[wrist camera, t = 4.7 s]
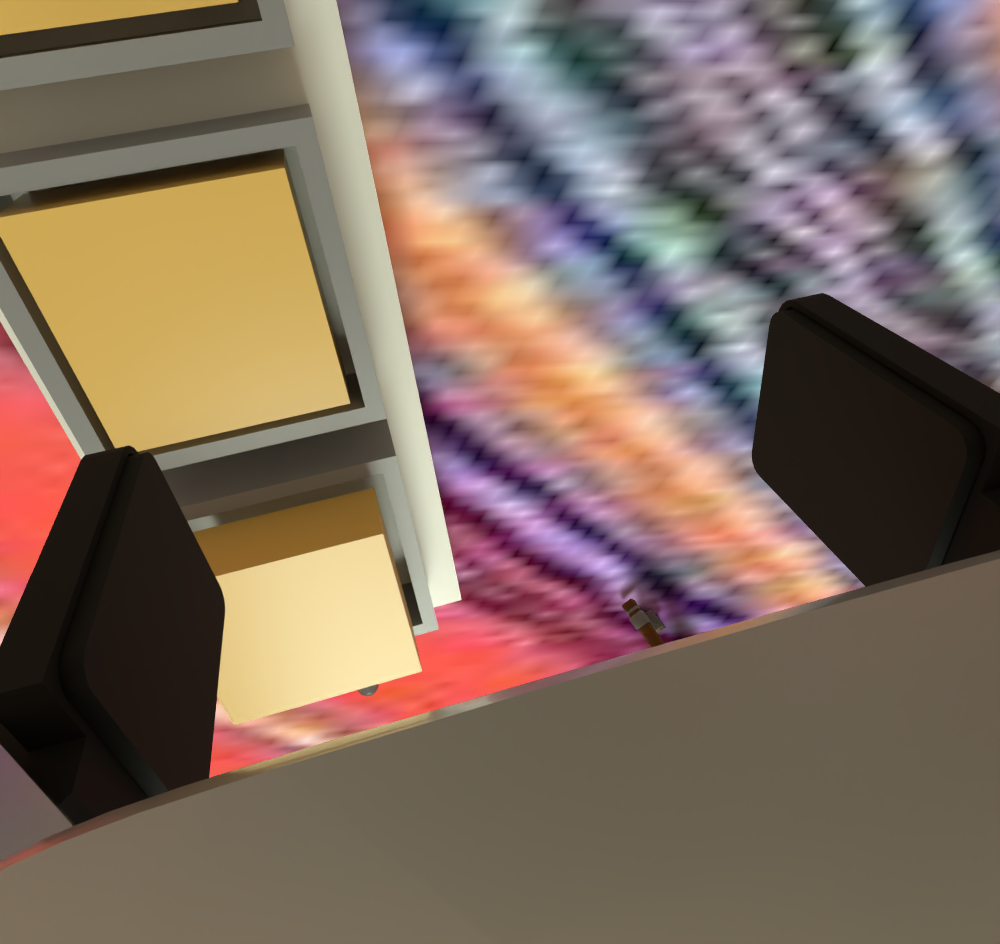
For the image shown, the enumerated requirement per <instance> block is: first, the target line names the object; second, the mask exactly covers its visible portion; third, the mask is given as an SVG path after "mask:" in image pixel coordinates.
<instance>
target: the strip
mask: <svg viewBox="0 0 1000 944" xmlns="http://www.w3.org/2000/svg"><path fill="white" fill-rule="evenodd" d="M278 150H284V152H285V155H286V159H287V163H288V166H289V170H290V173H291V177H292V181H293V184H294V188H295V191H296V195H297V199H298V202H299V206H300V210H301V213H302V217H303V220H304V224H305V228H306V231H307V235H308V239H309V242H310V246H311V249H312V253H313V257H314V260H315V264H316V267H317V271H318V275H319V278H320V282H321V286H322V289H323V293H324V296H325V300H326V304H327V307H328V311H329V315H330V318H331V322H332V325H333V329H334V333H335V336H336V340H337V343H338V347H339V351H340V354H341V358H342V362H343V365H344V369H345V375H346V381H347V387H348V392H349V398H350V404H346V405H342V406H337V407H333V408H328V409H324V410H320V411H315V412H311V413H306V414H302V415H298V416H293V417H289V418H284V419H280V420H275V421H271V422H267V423H262V424H258V425H253V426H249V427H245V428H240V429H236V430H231V431H227V432H222V433H218V434H214V435H209V436H205V437H200V438H196V439H192V440H187V441H183V442H178V443H174V444H170V445H165V446H161V447H156V448H152V449H147V450H143V451H139V452H138V453H139V454H141V453H146V452H149V453H151V454H152V455H153V456H154V458H155V460H156V461H157V463H158V465H159V467H160V469H161V471H162V473H163V475H164V477H165V479H166V481H167V483H168V485H169V487H170V489H171V491H172V493H173V495H174V496H175V498H176V500H177V502H178V504H179V506H180V508H181V510H182V512H183V514H184V516H185V518H186V520H187V522H188V524H189V526H190V528H191V530H192V532H195V531H199V530H203V529H207V528H211V527H215V526H219V525H223V524H227V523H231V522H235V521H240V520H244V519H248V518H252V517H256V516H260V515H264V514H268V513H272V512H276V511H280V510H284V509H288V508H293V507H297V506H301V505H305V504H309V503H313V502H317V501H321V500H325V499H329V498H333V497H337V496H341V495H346V494H350V493H354V492H358V491H362V490H366V489H370V488H374V489H375V492H376V496H377V499H378V503H379V506H380V510H381V514H382V517H383V521H384V524H385V528H386V531H387V535H388V539H389V542H390V546H391V549H392V553H393V556H394V560H395V564H396V567H397V571H398V574H399V578H400V582H401V585H402V589H403V592H404V596H405V599H406V603H407V607H408V610H409V614H410V617H411V621H412V625H413V630H414V635H415V636H416V635H420V634H424V633H427V632H431V631H434V630H438V629H439V628H438V624H437V620H436V616H435V611H434V607H437V606H441V605H444V604H448V603H452V602H455V601H459V600H461V595H460V590H459V585H458V581H457V576H456V571H455V566H454V561H453V557H452V552H451V547H450V542H449V538H448V533H447V528H446V523H445V518H444V514H443V509H442V504H441V499H440V494H439V490H438V485H437V480H436V475H435V471H434V466H433V461H432V456H431V451H430V447H429V442H428V437H427V432H426V427H425V423H424V418H423V413H422V408H421V404H420V399H419V394H418V389H417V384H416V380H415V375H414V370H413V365H412V361H411V356H410V351H409V346H408V341H407V337H406V332H405V327H404V322H403V317H402V313H401V308H400V303H399V298H398V294H397V289H396V284H395V279H394V274H393V270H392V265H391V260H390V255H389V251H388V246H387V241H386V236H385V231H384V227H383V222H382V217H381V212H380V207H379V203H378V198H377V193H376V188H375V184H374V179H373V174H372V169H371V164H370V160H369V155H368V150H367V145H366V141H365V136H364V131H363V126H362V121H361V117H360V112H359V107H358V102H357V97H356V93H355V88H354V83H353V78H352V74H351V69H350V64H349V59H348V54H347V50H346V45H345V40H344V35H343V31H342V26H341V21H340V16H339V11H338V7H337V2H336V0H243V1H241V2H236V3H229V4H221V5H214V6H207V7H200V8H193V9H185V10H178V11H171V12H164V13H157V14H150V15H142V16H135V17H128V18H121V19H114V20H106V21H99V22H92V23H85V24H78V25H70V26H63V27H56V28H49V29H42V30H35V31H27V32H20V33H13V34H6V35H0V212H1V211H2V210H3V209H4V208H6V207H7V206H8V205H10V204H11V203H12V202H13V201H15V200H16V199H17V198H18V197H20V196H21V195H22V194H26V193H32V192H38V191H44V190H50V189H56V188H61V187H67V186H73V185H79V184H85V183H91V182H97V181H102V180H108V179H114V178H120V177H126V176H132V175H138V174H143V173H149V172H155V171H161V170H167V169H173V168H179V167H184V166H190V165H196V164H202V163H208V162H214V161H219V160H225V159H231V158H237V157H243V156H249V155H255V154H260V153H266V152H272V151H278ZM0 322H1V323H2V325H3V327H4V328H5V330H6V332H7V334H8V335H9V337H10V339H11V340H12V342H13V344H14V346H15V347H16V349H17V351H18V352H19V354H20V356H21V357H22V359H23V361H24V363H25V364H26V366H27V368H28V369H29V371H30V373H31V375H32V376H33V378H34V380H35V381H36V383H37V385H38V386H39V388H40V390H41V392H42V393H43V395H44V397H45V398H46V400H47V402H48V404H49V405H50V407H51V409H52V410H53V412H54V414H55V416H56V417H57V419H58V421H59V422H60V424H61V426H62V427H63V429H64V431H65V433H66V434H67V436H68V438H69V439H70V441H71V443H72V445H73V446H74V448H75V450H76V451H77V453H78V455H79V457H80V458H81V459H82V458H83V457H84V455H88V454H92V453H97V452H101V451H106V450H110V449H115V447H114V445H113V443H112V441H111V439H110V438H109V436H108V434H107V432H106V430H105V428H104V426H103V425H102V423H101V421H100V419H99V417H98V415H97V414H96V412H95V410H94V408H93V406H92V404H91V403H90V401H89V399H88V397H87V395H86V393H85V391H84V390H83V388H82V386H81V384H80V382H79V380H78V379H77V377H76V375H75V373H74V371H73V369H72V367H71V366H70V364H69V362H68V360H67V358H66V356H65V355H64V353H63V351H62V349H61V347H60V345H59V344H58V342H57V340H56V338H55V336H54V334H53V332H52V331H51V329H50V327H49V325H48V323H47V321H46V320H45V318H44V316H43V314H42V312H41V310H40V309H39V307H38V305H37V303H36V301H35V299H34V297H33V296H32V294H31V292H30V290H29V288H28V286H27V285H26V283H25V281H24V279H23V277H22V275H21V273H20V272H19V270H18V268H17V266H16V264H15V262H14V261H13V259H12V257H11V255H10V253H9V251H8V250H7V248H6V246H5V244H4V242H3V240H2V238H1V237H0ZM377 689H378V684H376V685H373V686H369V687H366V688H362V689H359V690H358V691H359V693H360V694H361V695H364V696H371V695H373V694H374V693H375V692H376V691H377Z"/></svg>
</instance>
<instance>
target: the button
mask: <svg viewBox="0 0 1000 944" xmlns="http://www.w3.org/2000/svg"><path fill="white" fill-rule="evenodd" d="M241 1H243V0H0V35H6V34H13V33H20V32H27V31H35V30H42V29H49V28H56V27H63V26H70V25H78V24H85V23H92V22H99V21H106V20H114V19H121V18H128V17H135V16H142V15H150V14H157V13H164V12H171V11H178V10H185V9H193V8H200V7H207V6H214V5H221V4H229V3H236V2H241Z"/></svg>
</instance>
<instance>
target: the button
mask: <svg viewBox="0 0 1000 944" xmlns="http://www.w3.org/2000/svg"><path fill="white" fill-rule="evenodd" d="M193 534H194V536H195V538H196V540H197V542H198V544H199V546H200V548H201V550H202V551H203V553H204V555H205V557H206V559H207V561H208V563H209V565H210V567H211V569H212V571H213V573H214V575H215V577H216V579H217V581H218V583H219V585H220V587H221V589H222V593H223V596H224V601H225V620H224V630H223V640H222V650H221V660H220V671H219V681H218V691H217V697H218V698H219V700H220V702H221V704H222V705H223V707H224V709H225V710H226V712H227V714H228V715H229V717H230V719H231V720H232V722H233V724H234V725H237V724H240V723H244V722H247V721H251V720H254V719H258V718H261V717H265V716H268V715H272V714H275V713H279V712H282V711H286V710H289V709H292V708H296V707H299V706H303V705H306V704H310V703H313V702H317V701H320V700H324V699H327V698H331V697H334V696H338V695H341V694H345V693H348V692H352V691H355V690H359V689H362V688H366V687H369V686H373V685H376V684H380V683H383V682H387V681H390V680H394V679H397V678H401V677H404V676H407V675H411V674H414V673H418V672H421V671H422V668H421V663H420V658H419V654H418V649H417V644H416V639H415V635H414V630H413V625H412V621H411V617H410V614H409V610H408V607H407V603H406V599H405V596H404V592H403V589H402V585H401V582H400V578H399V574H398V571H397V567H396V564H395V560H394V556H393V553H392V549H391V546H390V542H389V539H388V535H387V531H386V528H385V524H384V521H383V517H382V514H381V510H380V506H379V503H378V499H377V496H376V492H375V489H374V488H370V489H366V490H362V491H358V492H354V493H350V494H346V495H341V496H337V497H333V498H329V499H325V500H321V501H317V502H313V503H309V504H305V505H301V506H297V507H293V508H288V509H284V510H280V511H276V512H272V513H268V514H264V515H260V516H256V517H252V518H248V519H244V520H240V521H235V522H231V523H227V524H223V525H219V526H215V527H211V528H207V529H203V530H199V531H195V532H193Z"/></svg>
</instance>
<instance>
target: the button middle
mask: <svg viewBox="0 0 1000 944" xmlns="http://www.w3.org/2000/svg"><path fill="white" fill-rule="evenodd" d="M0 237H1V238H2V240H3V242H4V244H5V246H6V248H7V250H8V251H9V253H10V255H11V257H12V259H13V261H14V262H15V264H16V266H17V268H18V270H19V272H20V273H21V275H22V277H23V279H24V281H25V283H26V285H27V286H28V288H29V290H30V292H31V294H32V296H33V297H34V299H35V301H36V303H37V305H38V307H39V309H40V310H41V312H42V314H43V316H44V318H45V320H46V321H47V323H48V325H49V327H50V329H51V331H52V332H53V334H54V336H55V338H56V340H57V342H58V344H59V345H60V347H61V349H62V351H63V353H64V355H65V356H66V358H67V360H68V362H69V364H70V366H71V367H72V369H73V371H74V373H75V375H76V377H77V379H78V380H79V382H80V384H81V386H82V388H83V390H84V391H85V393H86V395H87V397H88V399H89V401H90V403H91V404H92V406H93V408H94V410H95V412H96V414H97V415H98V417H99V419H100V421H101V423H102V425H103V426H104V428H105V430H106V432H107V434H108V436H109V438H110V439H111V441H112V443H113V445H114V447H115V448H120V447H124V446H129V445H130V446H132V447H134V448H135V449H136V451H137V452H139V451H143V450H147V449H152V448H156V447H161V446H165V445H170V444H174V443H178V442H183V441H187V440H192V439H196V438H200V437H205V436H209V435H214V434H218V433H222V432H227V431H231V430H236V429H240V428H245V427H249V426H253V425H258V424H262V423H267V422H271V421H275V420H280V419H284V418H289V417H293V416H298V415H302V414H306V413H311V412H315V411H320V410H324V409H328V408H333V407H337V406H342V405H346V404H350V398H349V392H348V387H347V381H346V375H345V369H344V365H343V362H342V358H341V354H340V351H339V347H338V343H337V340H336V336H335V333H334V329H333V325H332V322H331V318H330V315H329V311H328V307H327V304H326V300H325V296H324V293H323V289H322V286H321V282H320V278H319V275H318V271H317V267H316V264H315V260H314V257H313V253H312V249H311V246H310V242H309V239H308V235H307V231H306V228H305V224H304V220H303V217H302V213H301V210H300V206H299V202H298V199H297V195H296V191H295V188H294V184H293V181H292V177H291V173H290V170H289V166H288V163H287V159H286V155H285V152H284V150H278V151H272V152H266V153H260V154H255V155H249V156H243V157H237V158H231V159H225V160H219V161H214V162H208V163H202V164H196V165H190V166H184V167H179V168H173V169H167V170H161V171H155V172H149V173H143V174H138V175H132V176H126V177H120V178H114V179H108V180H102V181H97V182H91V183H85V184H79V185H73V186H67V187H61V188H56V189H50V190H44V191H38V192H32V193H26V194H22V195H21V196H20V197H18V198H17V199H16V200H15V201H13V202H12V203H11V204H10V205H8V206H7V207H6V208H4V209H3V210H2V211H1V212H0Z"/></svg>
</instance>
